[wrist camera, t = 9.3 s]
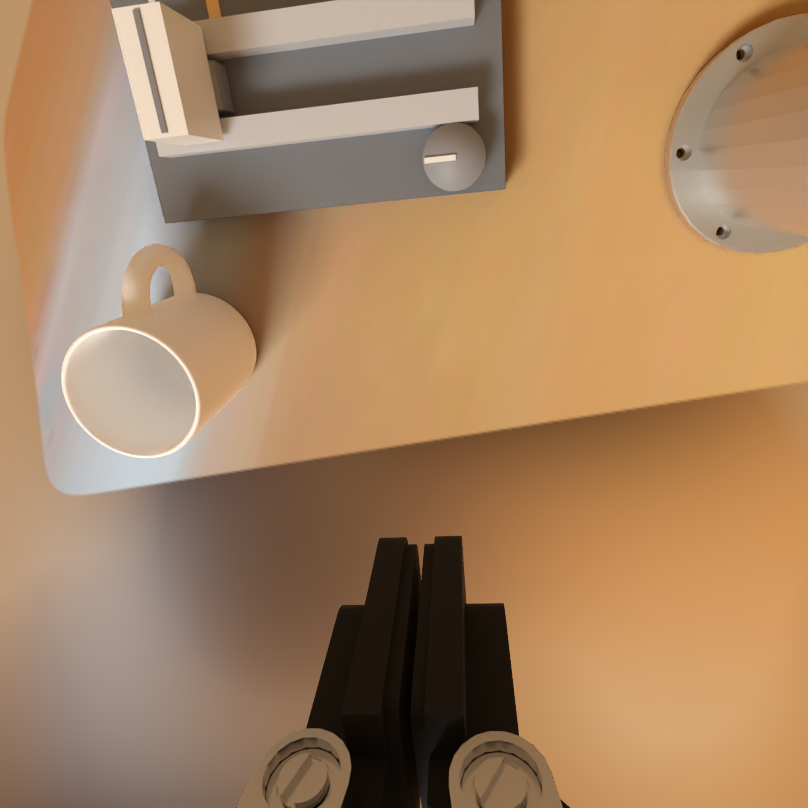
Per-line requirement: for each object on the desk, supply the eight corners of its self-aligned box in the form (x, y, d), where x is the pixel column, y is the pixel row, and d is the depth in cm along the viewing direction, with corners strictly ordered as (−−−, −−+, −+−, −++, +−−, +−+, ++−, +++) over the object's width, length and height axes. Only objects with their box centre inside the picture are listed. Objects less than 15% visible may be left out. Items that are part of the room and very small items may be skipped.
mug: (137, 233, 38) (31, 251, 29) (252, 239, 37) (183, 259, 28) (160, 392, 43) (75, 453, 33) (263, 399, 42) (207, 463, 33)
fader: (219, 34, 31) (164, -1, 25) (240, 142, 33) (193, 133, 27) (170, 41, 31) (104, 8, 26) (193, 147, 33) (137, 140, 28)
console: (495, -86, 30) (501, -122, 26) (503, 188, 35) (508, 189, 31) (120, -26, 32) (80, -51, 29) (179, 221, 37) (151, 225, 34)
